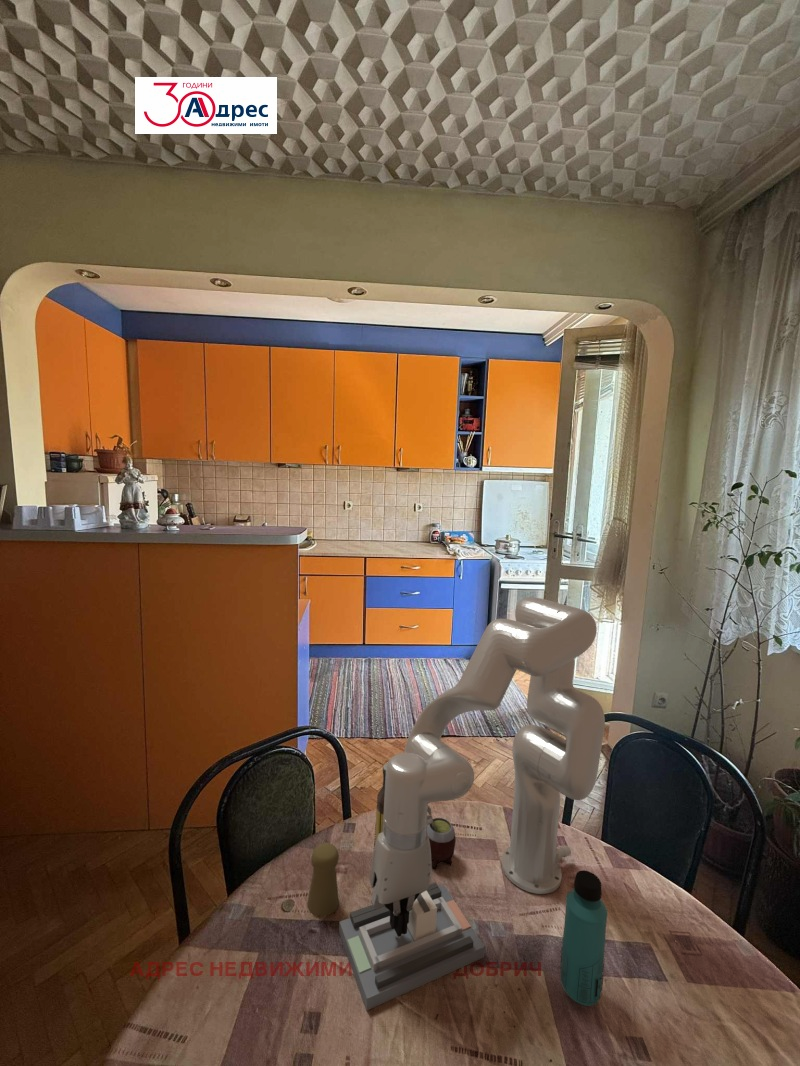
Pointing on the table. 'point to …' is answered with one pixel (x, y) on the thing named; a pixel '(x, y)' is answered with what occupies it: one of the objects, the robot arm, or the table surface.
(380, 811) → the sauce bottle
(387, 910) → the panel
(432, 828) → the mate gourd
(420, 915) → the toggle
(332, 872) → the olive brown pawn
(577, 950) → the beverage bottle
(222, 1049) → the table surface
